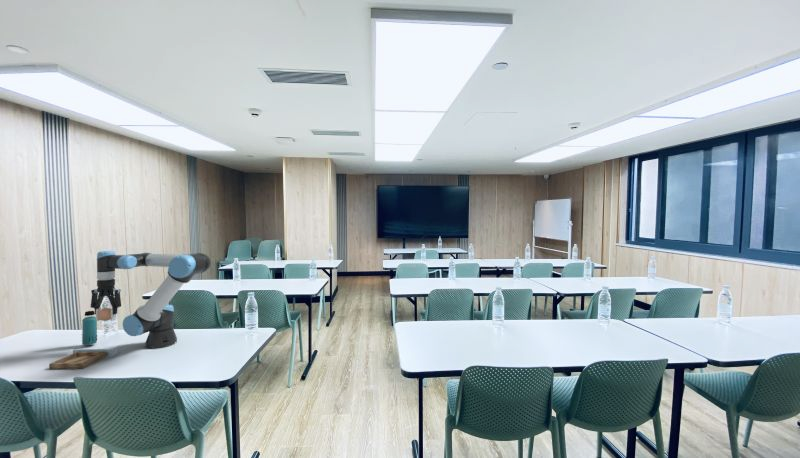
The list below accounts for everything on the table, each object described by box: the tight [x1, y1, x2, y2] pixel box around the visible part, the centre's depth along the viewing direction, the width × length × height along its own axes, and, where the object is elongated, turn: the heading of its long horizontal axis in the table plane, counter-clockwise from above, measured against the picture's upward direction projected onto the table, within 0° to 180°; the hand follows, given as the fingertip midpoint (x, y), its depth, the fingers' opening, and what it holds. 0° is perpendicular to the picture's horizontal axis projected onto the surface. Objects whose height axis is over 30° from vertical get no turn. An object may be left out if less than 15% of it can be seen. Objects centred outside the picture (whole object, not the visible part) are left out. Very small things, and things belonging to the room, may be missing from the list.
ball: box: [98, 307, 112, 322], centre depth 184 cm, size 7×7×7 cm
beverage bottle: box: [81, 310, 98, 346], centre depth 190 cm, size 6×7×20 cm
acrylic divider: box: [72, 348, 119, 359], centre depth 177 cm, size 21×5×4 cm, turn 95°
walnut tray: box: [48, 352, 107, 370], centre depth 168 cm, size 15×15×3 cm
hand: (106, 320), depth 184 cm, fingers closed on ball, 7 cm apart
